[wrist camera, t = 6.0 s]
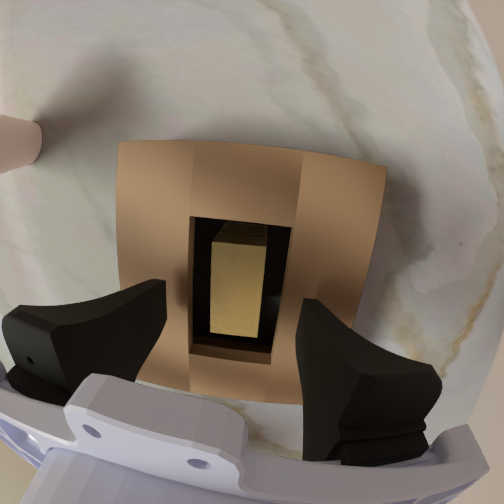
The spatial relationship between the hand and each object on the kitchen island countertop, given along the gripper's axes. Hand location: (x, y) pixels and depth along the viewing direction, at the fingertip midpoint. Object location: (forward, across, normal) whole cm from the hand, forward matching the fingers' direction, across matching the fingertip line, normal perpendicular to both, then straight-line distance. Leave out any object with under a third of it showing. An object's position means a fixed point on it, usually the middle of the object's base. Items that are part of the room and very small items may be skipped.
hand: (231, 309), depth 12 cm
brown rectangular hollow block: (+6, 0, 0) cm, 6 cm away
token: (+6, 0, 0) cm, 6 cm away
